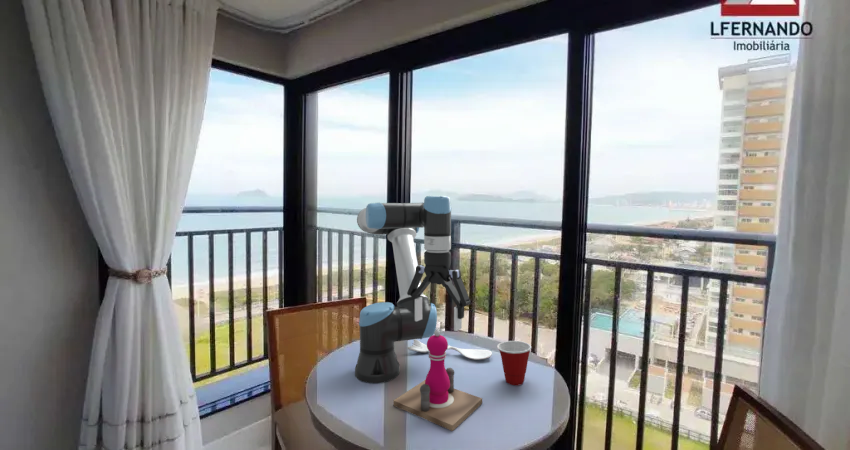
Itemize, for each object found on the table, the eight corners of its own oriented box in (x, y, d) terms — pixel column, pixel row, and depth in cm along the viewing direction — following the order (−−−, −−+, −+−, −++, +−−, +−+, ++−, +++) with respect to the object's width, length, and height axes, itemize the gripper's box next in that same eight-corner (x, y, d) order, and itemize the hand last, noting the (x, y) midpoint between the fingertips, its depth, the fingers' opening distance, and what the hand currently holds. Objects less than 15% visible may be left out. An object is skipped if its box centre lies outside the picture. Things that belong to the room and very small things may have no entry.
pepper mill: (448, 406, 100) (448, 335, 99) (422, 404, 101) (422, 333, 100) (451, 393, 107) (451, 326, 106) (427, 391, 108) (427, 325, 107)
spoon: (413, 346, 148) (413, 338, 148) (493, 355, 139) (493, 346, 139) (406, 355, 139) (406, 346, 139) (490, 364, 130) (490, 355, 130)
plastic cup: (506, 370, 125) (506, 336, 125) (536, 379, 118) (536, 344, 118) (490, 382, 117) (490, 346, 116) (522, 393, 110) (522, 354, 109)
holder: (393, 405, 104) (393, 376, 103) (426, 383, 116) (426, 357, 116) (452, 431, 92) (452, 398, 91) (482, 403, 104) (482, 375, 104)
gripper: (395, 248, 106) (395, 319, 107) (469, 256, 91) (469, 338, 93) (411, 246, 112) (411, 313, 114) (483, 252, 97) (482, 330, 99)
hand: (437, 324), depth 103 cm, fingers open, 13 cm apart
